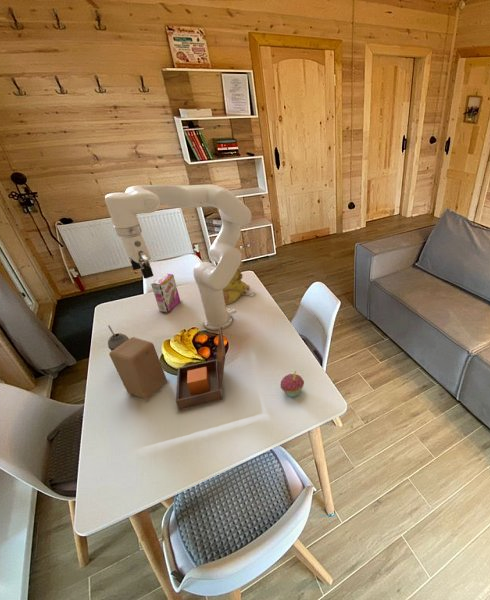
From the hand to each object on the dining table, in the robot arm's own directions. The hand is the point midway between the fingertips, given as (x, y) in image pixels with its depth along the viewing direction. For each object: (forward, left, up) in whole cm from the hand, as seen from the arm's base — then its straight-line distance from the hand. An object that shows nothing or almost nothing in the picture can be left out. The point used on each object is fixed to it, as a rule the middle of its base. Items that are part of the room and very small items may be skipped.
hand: (143, 272), depth 126 cm
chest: (+3, +32, -37) cm, 49 cm away
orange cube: (+3, +32, -36) cm, 48 cm away
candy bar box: (-15, -31, -37) cm, 50 cm away
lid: (-5, +37, -23) cm, 44 cm away
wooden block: (+16, +17, -37) cm, 44 cm away
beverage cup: (+16, -1, -37) cm, 40 cm away
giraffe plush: (-42, -19, -37) cm, 59 cm away
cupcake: (-19, +59, -37) cm, 72 cm away
